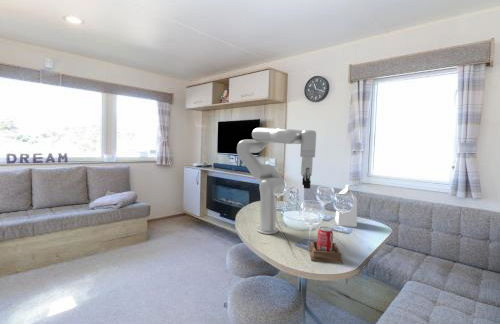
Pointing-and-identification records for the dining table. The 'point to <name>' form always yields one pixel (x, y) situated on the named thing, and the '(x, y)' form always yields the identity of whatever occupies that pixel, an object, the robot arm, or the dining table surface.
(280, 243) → the dining table surface
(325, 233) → the soda can
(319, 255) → the brown wooden tray
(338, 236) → the dining table surface
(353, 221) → the milk
